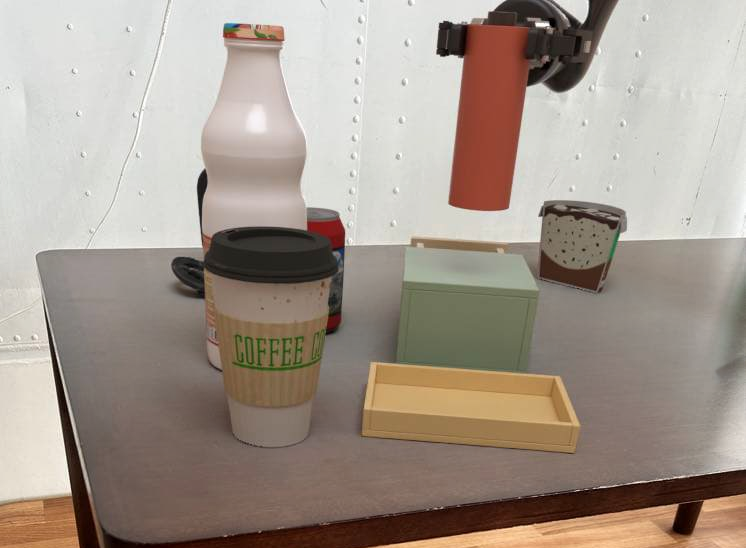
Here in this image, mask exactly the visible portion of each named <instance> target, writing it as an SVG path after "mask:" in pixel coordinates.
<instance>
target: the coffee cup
mask: <svg viewBox="0 0 746 548" xmlns="http://www.w3.org/2000/svg"><path fill="white" fill-rule="evenodd" d="M202 262H203V266H204V268H205V269H206V270H207V271H208V272H210V277H211V284H212V290H213V297H214V302H213V304H212V305H213V312H214V319H215V326H216V333H217V339H218V346H219V353H220V360H221V366H222V370H221V373H222V380H223V385H224V386H223V387H224V392H225V393H226V395H227V402H228V409H229V416H230V423H231V424H230V425H231V431H232V435H233V434H234V435H235V436H234V435H233V436H234V438H236V437H237V438H238V439H239V440H238V439H237V438H236V439H237V440H238V441H240V440H241V441H240V442H242V441H243V442H242V443H244V442H246V443H245V444H247V443H249V444H248V445H250V444H252V445H251V446H254V445H257V446H256V447H260V446H262V447H261V448H283V447H288V446H293V445H296V444H298V443H301V442H303V441H304V440H306V439H307V438H308V436H309V432H310V424H311V418H312V411H313V405H314V398H315V395H316V394H317V392H318V391H317V390H318V384H319V378H320V371H321V365H322V359H323V351H324V346H325V340H326V327H327V321H328V314H329V306H328V299H329V292H330V286H331V279H332V276H334V275H335V274H336V273H337V272H338V269H339V268H338V264H337V263H338V261H337V258H336V257H335V256H334V255H333V252H332V247H331V242H330V240H329V238H327V237H326V236H324V235H321V234H319V233H315V232H312V231H307V230H302V229H295V228H285V227H266V226H256V227H239V228H231V229H226V230H222V231H219V232H217V233H215V234H213V236H212V239H211V243H210V248H209V251H207V252H206V254H205V256H204V255H203V261H202Z"/></svg>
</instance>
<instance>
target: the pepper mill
mask: <svg viewBox="0 0 746 548" xmlns="http://www.w3.org/2000/svg"><path fill="white" fill-rule="evenodd" d="M486 18H487V25H467V32H466V41H465V50H464V58H462V59H463V60H462V69H461V79H460V80H461V81H460V86H459V87H460V89H459V99H458V108H457V117H456V126H455V134H454V144H453V153H452V161H451V162H452V163H451V173H450V182H449V188H448V189H449V190H448V199H447V204H448V205H449V206H451V207H454V208H457V209H460V210H461V209H462V210H469V211H477V212H499V211H506V210H508V209H510V203H511V197H512V189H513V184H514V183H513V182H514V176H515V170H516V169H515V168H516V163H517V155H518V149H519V143H520V134H521V127H522V122H523V115H524V106H525V100H526V94H527V88H528V87H527V80H528V73H529V66H530V60H527V59H526V49H527V42H528V35H529V30H530V28H528V27H515V26H516V20H517V13H515V12H498V11H494V10H493V11H492V10H490V11H488V12H487V17H486Z"/></svg>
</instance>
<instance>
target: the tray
mask: <svg viewBox="0 0 746 548" xmlns="http://www.w3.org/2000/svg"><path fill="white" fill-rule="evenodd" d="M367 377H368V378H367V384H366V391H365V397H364V403H363V412H362V423H361V424H362V425H361V428H362V429H361V437H367V438H368V437H369V438H380V439H381V438H382V439H394V440H405V441H407V440H408V441H416V442H417V441H418V442H419V441H420V442H431V443H442V444H443V443H444V444H455V445H468V446H481V447H493V448H506V449H519V450H529V451H530V450H531V451H543V452H554V453H555V452H556V453H566V454H568V453H569V454H575V453H576V449H577V444H578V439H579V436H580V430H581V424H580V422H579V418H578V416H577V414H576V412H575V410H574V409H575V408H574V407H573V404H572V402H571V400H570V397H569V395H568V392H567V390H566V387H565V385H564V382H563V380H562V378H561V376H559V375H549V374H535V373H525V374H524V373H510V372H497V371H484V370H471V369H458V368H445V367H432V366H419V365H405V364H396V363H391V362H390V363H389V362H377V361H370V365H369V372H368V376H367Z"/></svg>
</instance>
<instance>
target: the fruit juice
mask: <svg viewBox="0 0 746 548" xmlns="http://www.w3.org/2000/svg"><path fill="white" fill-rule="evenodd" d="M222 38H223V45H224V47H225V48H226V52H227V53H226V54H227V56H226V61H225V67H224V71H223V74H222V79H221V83H220V87H219V91H218V94H217V97H216V100H215V103H214V105H213V107H212V110H211V111H210V114H209V115H208V117H207V119H206V121H205V123H204V125H203V127H202V129H201V137H200V151H201V158H202V162H203V165H204V169H206V172H207V177H208V184H207V189H206V192H205V194H204V198H203V206H202V233H203V247H202V249H203V250H202V251H203V252H202V253H203V254H202V255H203V257H204V256H205V254H206V252H207V251H209V248H210V243H211V239H212V236H213V234H215V233H217V232H219V231H222V230H226V229H231V228H239V227H256V226H266V227H285V228H295V229H302V230H307V208H306V207H307V202H306V198H305V196H304V193H303V189H302V179H303V176H304V172H305V168H306V164H307V161H308V160H307V159H308V139H307V135H306V131H305V129H304V127H303V125H302V123H301V121H300V119H299V117H298V115H297V114H296V111H295V108H294V106H293V103H292V100H291V97H290V94H289V89H288V87H287V82H286V78H285V74H284V70H283V65H282V61H281V53H282V51H284V49H285V46H284V44H285V39H286V38H285V29H284V27H283V26H282V25H275V24H274V25H273V24H272V25H271V24H258V23H257V24H256V23H239V22H225V23H224V24H223V30H222ZM204 282H205V293H204V304H205V305H204V306H205V307H204V308H205V309H204V310H205V328H206V329H205V330H206V331H205V332H206V333H205V335H206V352H207V357H208V360H209V362H210V363H211V365H212V366H214V367H215V368H217V369H218V370H221V371H222V366H221V360H220V353H219V346H218V339H217V333H216V326H215V319H214V312H213V305H212V304H213V302H214V297H213V290H212V284H211V277H210V272H208V271H207V270H206V269H205V268H204Z"/></svg>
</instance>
